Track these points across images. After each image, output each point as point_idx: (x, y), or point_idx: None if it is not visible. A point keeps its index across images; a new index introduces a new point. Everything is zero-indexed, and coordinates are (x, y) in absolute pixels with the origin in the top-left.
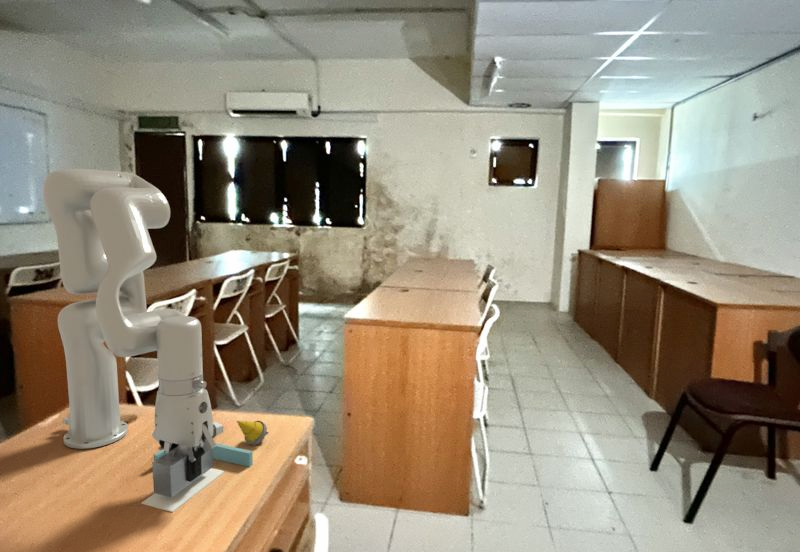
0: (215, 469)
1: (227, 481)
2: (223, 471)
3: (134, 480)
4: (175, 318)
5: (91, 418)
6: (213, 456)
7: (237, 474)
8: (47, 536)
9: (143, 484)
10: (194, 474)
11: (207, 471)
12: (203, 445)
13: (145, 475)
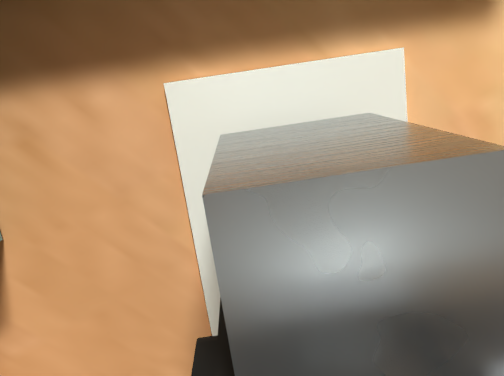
0: (331, 61)
1: (489, 119)
2: (400, 54)
3: (9, 369)
4: None
5: None
6: None
7: (497, 22)
8: None
9: (88, 368)
10: None
11: (301, 107)
12: (501, 310)
13: (7, 313)
